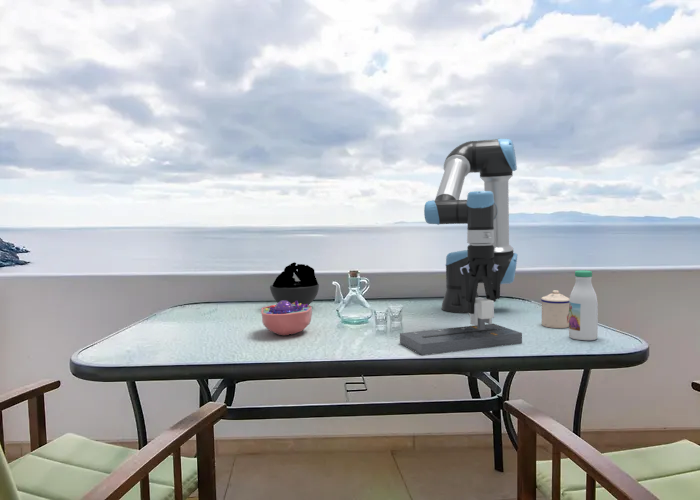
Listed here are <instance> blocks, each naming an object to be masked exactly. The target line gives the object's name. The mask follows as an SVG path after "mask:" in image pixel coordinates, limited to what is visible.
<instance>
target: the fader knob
mask: <svg viewBox="0 0 700 500" xmlns="http://www.w3.org/2000/svg"><path fill="white" fill-rule="evenodd" d="M475 303H478V325H477V329H479V330H485V324H486V323H485V319H489V318H492V319H494V318H495V311H494V310H495V304H494V303H495V302H494V301H492V300H489V299H486V297H485V298H483V297H478V298H476V299H475ZM468 315H469V316H470V313H469V312H468Z"/></svg>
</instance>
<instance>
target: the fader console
mask: <svg viewBox="0 0 700 500" xmlns="http://www.w3.org/2000/svg"><path fill="white" fill-rule="evenodd" d="M400 343H401V344H400ZM399 344H400V345H402V344H403V345H402V346H404V345H405V346H404V347H406V346H407V347H409V348H411V349H412V350H411V349H410V350H411V351H413V350H414V351H413V352H415V351H416V352H417V353H416V352H415V353H416V354H418V353H419V354H418V355H420V354H421V355H420V356H425V355H424V354H428V355H433V354H432V353H437V354H444V353H443V352H445V353H452V352H451V351H453V352H460V351H459V350H462V351H469V350H478V349H485V348H494V347H495V348H496V347H503V346H510V345H511V344H512V345H517V344H523V333H522V332H520V331H517V330H514V329H511V328H508V327H505V326H501V325H499V324H496V323H492V324H488V323H485V330H479V329H477V325H476V326H475V325H467V326H466V325H465V326H459V327H458V326H455V327H448V328H447V327H446V328H438V329H428V330H418V331H410V332H407V331H406V332H400V333H399ZM502 345H503V346H502ZM407 347H406V348H407ZM409 348H408V349H409ZM477 348H478V349H477Z"/></svg>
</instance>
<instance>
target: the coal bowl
mask: <svg viewBox="0 0 700 500" xmlns="http://www.w3.org/2000/svg"><path fill="white" fill-rule="evenodd" d="M315 273H316V271H315V269H314V268H313V267H311V266H309V265H308V264H303V263H302V264H301V263H297V262H295V261H294V262H292V263H290V264H288V265H287V266H285V267H284V268H283V271H281V273H279V274H278V275H277V277H276V278H275V279H274V281H273V283H272V284H271V285H270V286H269V289H270V293H271V295H272V297H273V299H274V300H275V302H276V304H277V303H279V302H280V301H288V302H290V303H291V304H292V303H295V301H298V303H299V304H300V303H301V304H308V305H309V306H310V304H311V303H312V302H313V301H314V300H315V299H316V298H317V295H318V292H319V289H320V283H319V282H318V279H317V277H316V274H315ZM294 276H296V277H297V279H298V281H297V280H296V278H295V277H294Z"/></svg>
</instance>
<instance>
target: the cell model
mask: <svg viewBox="0 0 700 500" xmlns="http://www.w3.org/2000/svg"><path fill="white" fill-rule="evenodd" d="M260 310H261V312H260V314H261V322H262V325H263V326H264V327H265V328H266V330H268V331H269V332H271V333H275V334H277V335H279V336H290V335H289V334H291V335H295V334H299V333H300V332H302V331H304V330H305V329H306V328H307V327H308V326H309V325H310V324H311V322H312V314H313V308H312V306H311V305H310V304H309V305H308V304H301V303H300V304H299V303H298V301H295V303H292V304H291V303H290V302H288V301H280V302H279V303H277V302H276V304H271V305H268V306H263V307H261V309H260Z"/></svg>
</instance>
